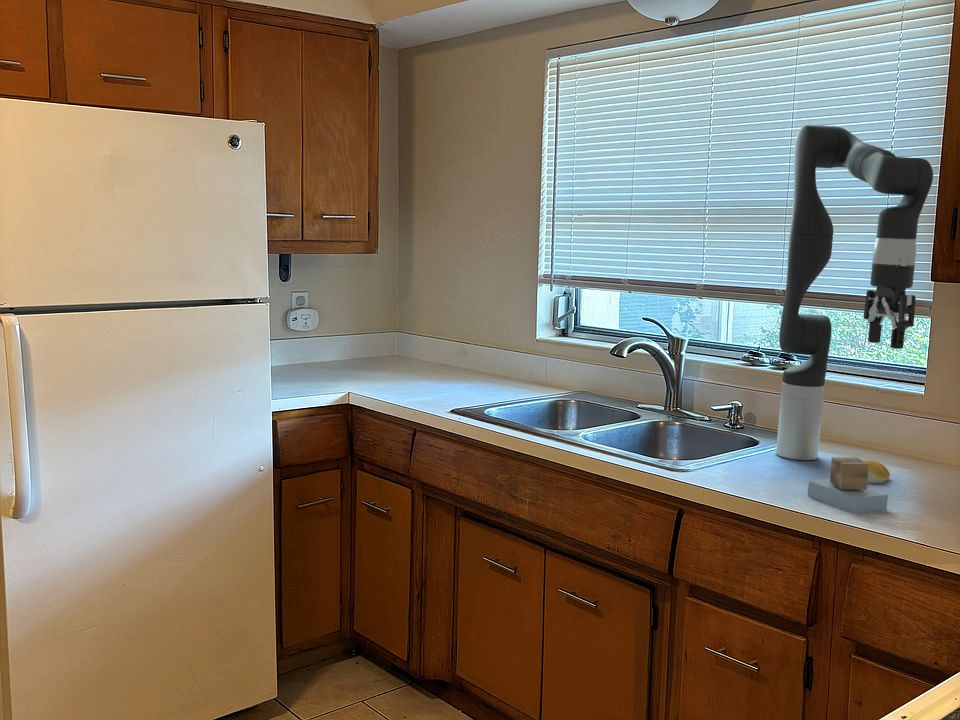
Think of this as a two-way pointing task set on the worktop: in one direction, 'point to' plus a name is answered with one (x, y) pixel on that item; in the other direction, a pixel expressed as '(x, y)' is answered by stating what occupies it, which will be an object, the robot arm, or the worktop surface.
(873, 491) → the butter dish
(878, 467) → the bread roll
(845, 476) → the walnut cube
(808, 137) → the robot arm
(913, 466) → the worktop surface
